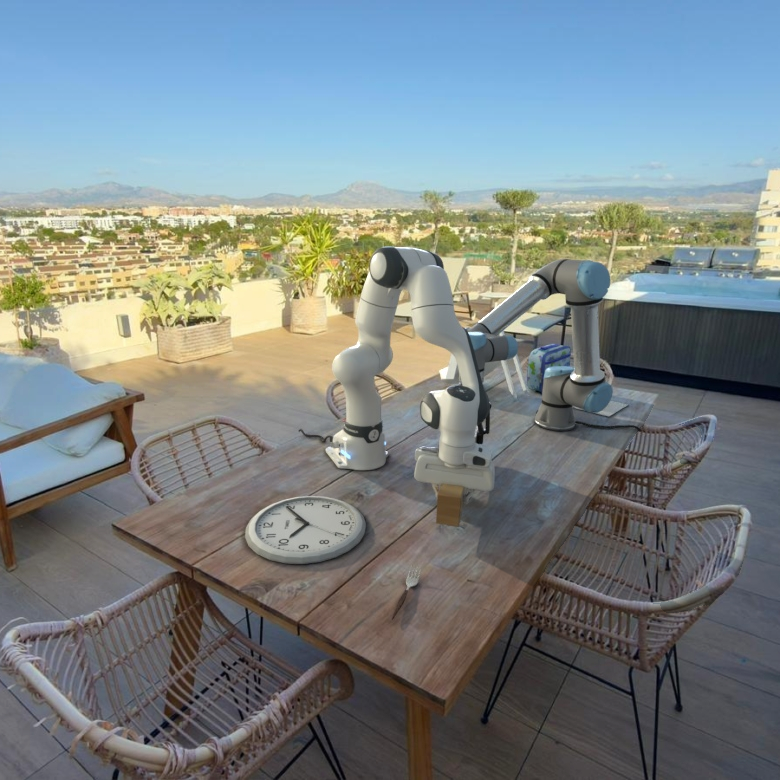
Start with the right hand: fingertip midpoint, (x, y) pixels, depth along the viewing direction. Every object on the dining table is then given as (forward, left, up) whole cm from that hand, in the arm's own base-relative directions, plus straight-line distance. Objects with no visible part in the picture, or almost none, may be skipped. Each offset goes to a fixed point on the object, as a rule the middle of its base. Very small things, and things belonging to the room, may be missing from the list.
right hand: (467, 451), depth 168 cm
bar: (+2, +18, -1) cm, 18 cm away
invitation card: (-59, -67, -4) cm, 90 cm away
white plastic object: (-8, -79, -4) cm, 79 cm away
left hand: (+5, +35, +2) cm, 36 cm away
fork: (+14, +66, -4) cm, 68 cm away
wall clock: (+41, +44, -4) cm, 60 cm away
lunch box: (-40, -91, -4) cm, 100 cm away
